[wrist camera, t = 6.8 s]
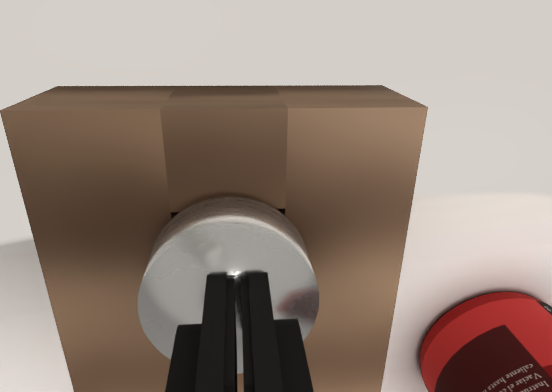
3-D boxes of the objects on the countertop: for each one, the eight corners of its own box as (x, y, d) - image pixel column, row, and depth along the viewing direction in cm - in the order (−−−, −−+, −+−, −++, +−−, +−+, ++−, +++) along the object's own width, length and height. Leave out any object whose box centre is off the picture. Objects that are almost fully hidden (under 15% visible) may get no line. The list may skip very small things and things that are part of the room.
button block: (57, 86, 15) (-1, 110, 11) (382, 85, 16) (427, 107, 12) (131, 452, 23) (112, 535, 19) (341, 433, 24) (361, 508, 20)
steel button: (162, 155, 15) (125, 232, 10) (292, 152, 16) (324, 225, 11) (173, 266, 18) (148, 380, 12) (289, 260, 18) (314, 368, 13)
